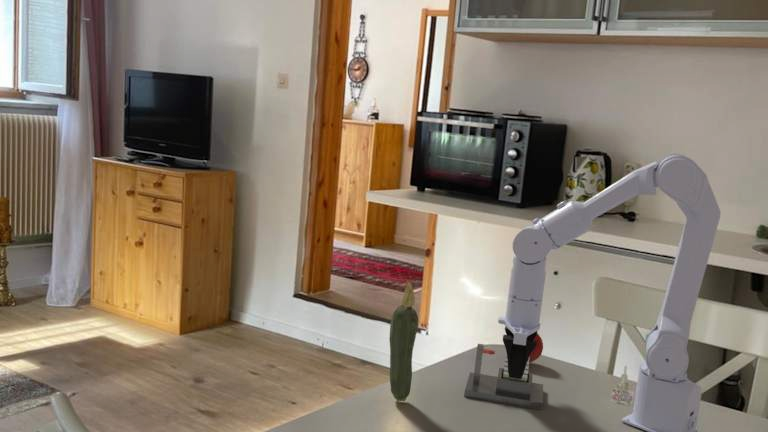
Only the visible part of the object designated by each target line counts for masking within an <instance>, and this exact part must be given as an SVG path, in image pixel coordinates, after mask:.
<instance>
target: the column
mask: <svg viewBox="0 0 768 432" xmlns="http://www.w3.org/2000/svg"><path fill="white" fill-rule="evenodd" d="M529 359H530V356H529ZM529 359H528V361H527V364H526V367H525V370H524V373H523V376H522V378H521V379H516V378H510V377H509V374H508V359H507V352H505V359H504V364H503V365H504V367H503V368H504V373H503V379H509V380H515V381H521V382H527V377H528V372H529V369H530V363H529Z"/></svg>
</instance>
